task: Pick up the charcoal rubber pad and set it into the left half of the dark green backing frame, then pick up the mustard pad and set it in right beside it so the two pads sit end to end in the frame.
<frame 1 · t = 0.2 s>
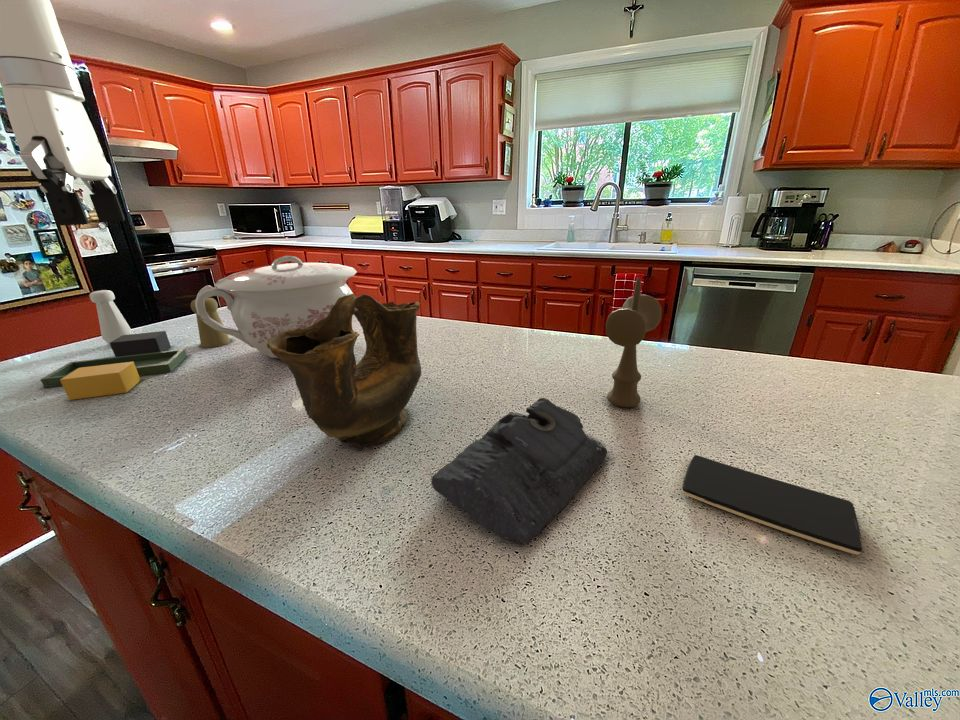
hand: (94, 222, 58), 29 cm above the countertop, tool pointing down, fingers open, 9 cm apart
charcoal pad: (144, 353, 90), on the countertop
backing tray: (121, 370, 81), on the countertop
dark slate chunk: (520, 469, 49), on the countertop
salt shaker: (121, 344, 97), on the countertop
smartphone: (761, 504, 42), on the countertop
kendama: (623, 403, 63), on the countertop
pottery vessel: (371, 428, 58), on the countertop
mustard pad: (106, 389, 73), on the countertop
chamber pot: (304, 349, 90), on the countertop
olive knobbed cylinder: (216, 344, 96), on the countertop
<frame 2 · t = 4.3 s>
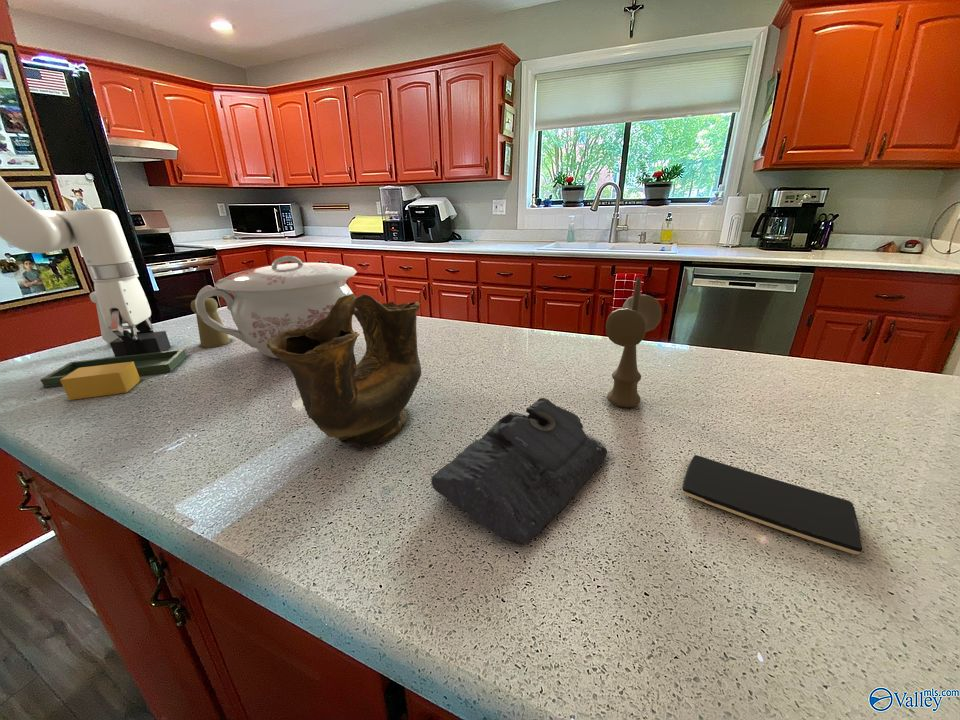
hand: (144, 351, 90), 1 cm above the countertop, tool pointing down, fingers closed on charcoal pad, 5 cm apart
charcoal pad: (144, 353, 90), on the countertop, touching gripper
everything else where it was.
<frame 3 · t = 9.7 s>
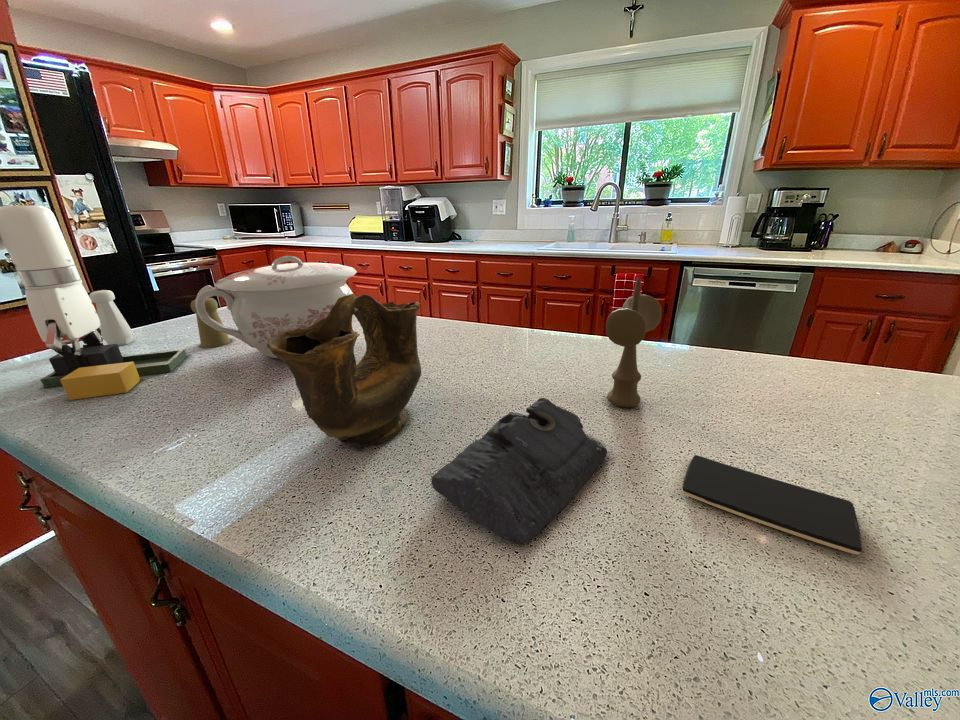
hand: (91, 367, 79), 2 cm above the countertop, tool pointing down, fingers closed on charcoal pad, 5 cm apart
charcoal pad: (92, 369, 80), point 1 cm above the countertop, touching gripper
everything else where it was.
when the fingers open (2 cm above the countertop, at t = 16.6 s): charcoal pad drops 1 cm, resting on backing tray.
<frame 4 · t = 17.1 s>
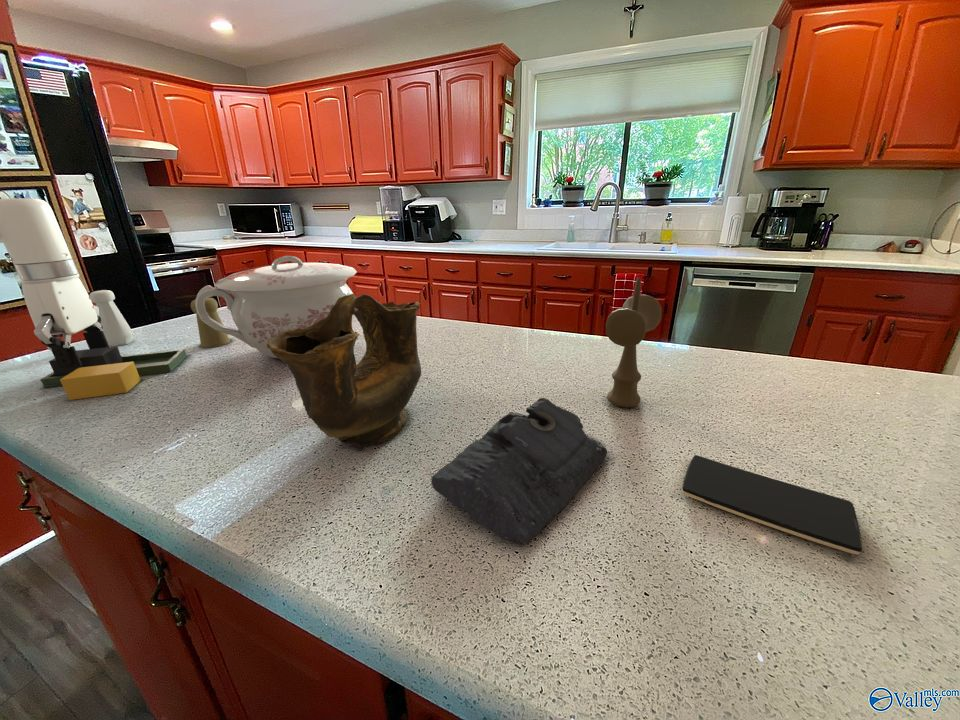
hand: (86, 358, 79), 3 cm above the countertop, tool pointing down, fingers open, 9 cm apart
charcoal pad: (92, 371, 80), resting on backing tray
everything else where it was.
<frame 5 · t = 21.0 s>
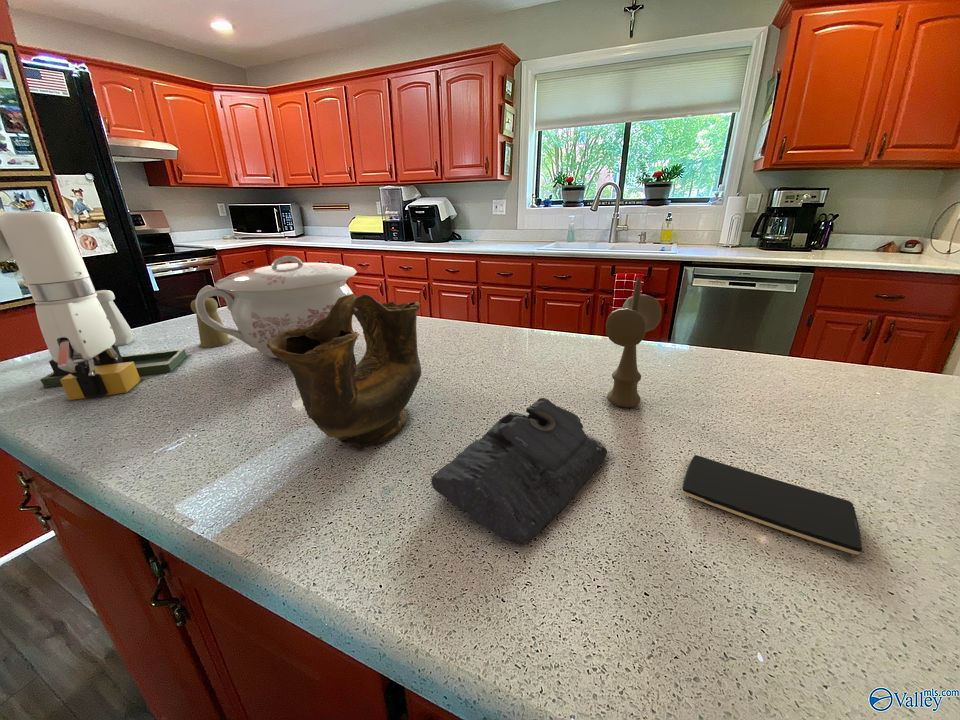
hand: (105, 387, 73), 1 cm above the countertop, tool pointing down, fingers closed on mustard pad, 5 cm apart
mustard pad: (107, 389, 73), on the countertop, touching gripper
everything else where it was.
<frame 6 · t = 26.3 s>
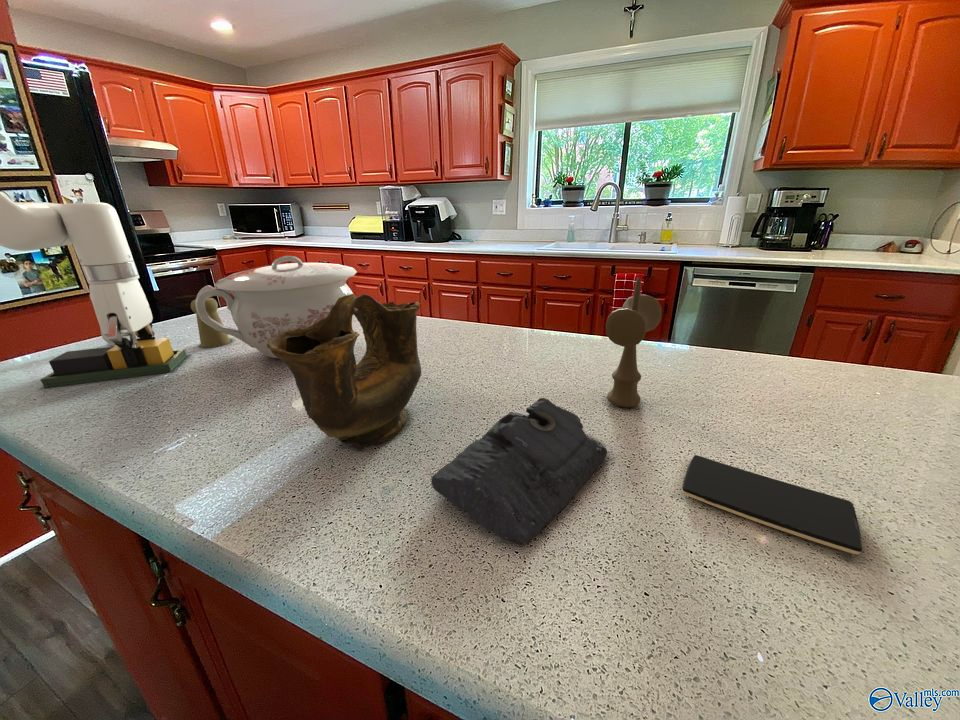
hand: (144, 360, 82), 2 cm above the countertop, tool pointing down, fingers closed on mustard pad, 5 cm apart
mustard pad: (145, 362, 82), point 1 cm above the countertop, touching gripper
everything else where it was.
when the fingers open (2 cm above the countertop, at t = 32.9 s): mustard pad drops 1 cm, resting on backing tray.
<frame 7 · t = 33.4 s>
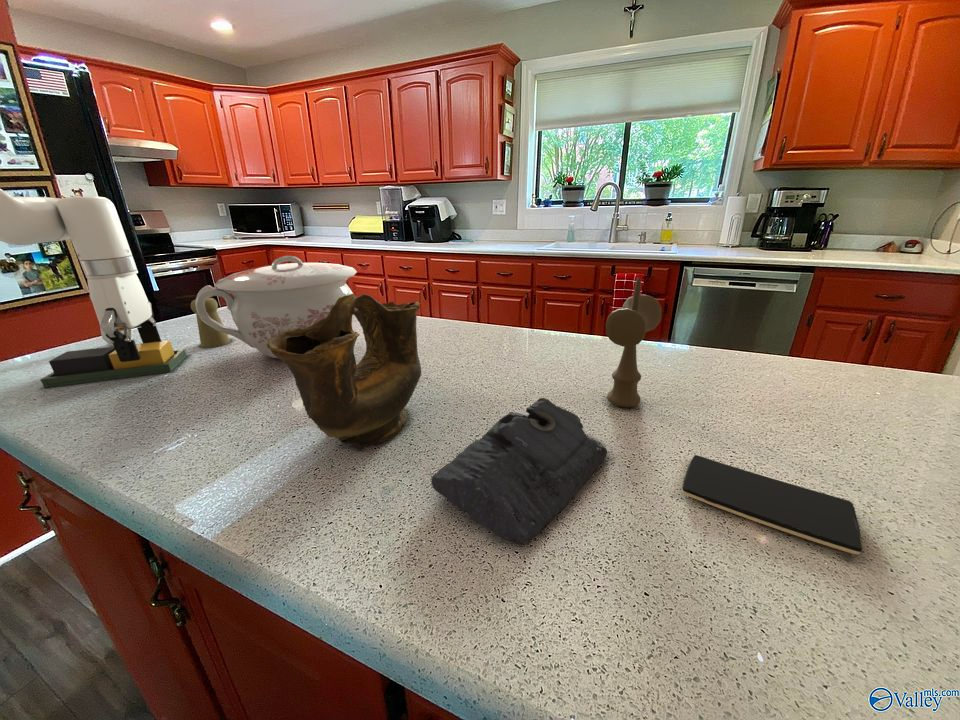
hand: (142, 352, 81), 3 cm above the countertop, tool pointing down, fingers open, 9 cm apart
mustard pad: (147, 365, 82), resting on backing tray
everything else where it was.
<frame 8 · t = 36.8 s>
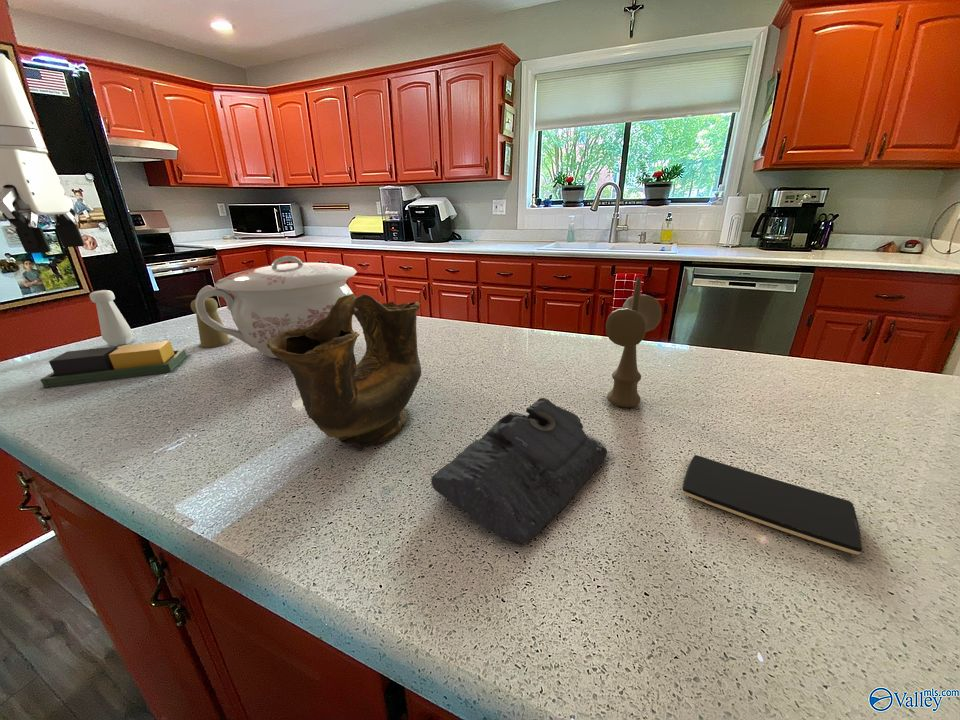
hand: (57, 249, 71), 24 cm above the countertop, tool pointing down, fingers open, 9 cm apart
nothing on the countertop moved.
at the end: charcoal pad inside the target area in the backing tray (0.3 cm from its centre), point 0.5 cm above the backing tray's base; mustard pad inside the target area in the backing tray (0.2 cm from its centre), point 0.5 cm above the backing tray's base; mustard pad 9.4 cm from the charcoal pad (horizontally) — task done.
